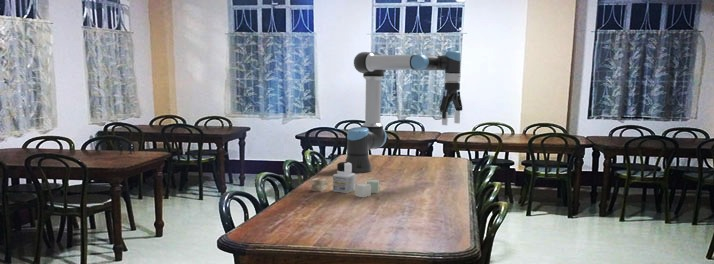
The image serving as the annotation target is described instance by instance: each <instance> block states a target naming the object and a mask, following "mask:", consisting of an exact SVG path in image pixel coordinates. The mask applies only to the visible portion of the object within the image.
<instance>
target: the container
mask: <svg viewBox="0 0 714 264" xmlns="http://www.w3.org/2000/svg"><path fill="white" fill-rule="evenodd" d="M336 166H337V167H336V170H337V171H336V173H334V174H333V175H332V191H333V192H336V193H342V194H349V193H351V192H355V184H357V183H356V182H357V181H356V173H354V172H352V164H351V163H349V162H345V161H339V162H338V163H337V165H336Z"/></svg>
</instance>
